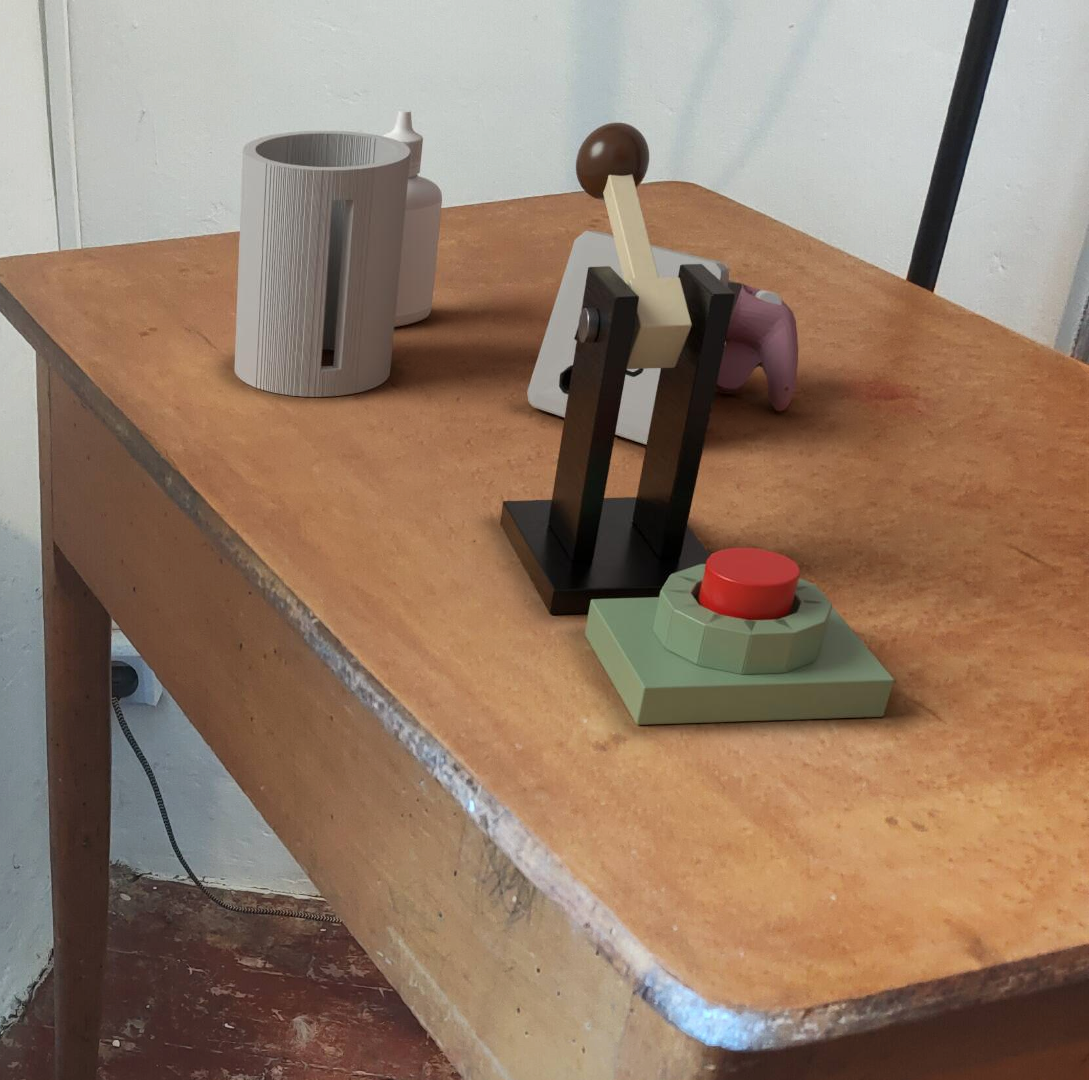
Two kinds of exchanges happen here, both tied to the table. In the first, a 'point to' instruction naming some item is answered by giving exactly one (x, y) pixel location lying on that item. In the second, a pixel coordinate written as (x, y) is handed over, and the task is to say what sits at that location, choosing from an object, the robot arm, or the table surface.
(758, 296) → the video game controller
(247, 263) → the cup
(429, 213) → the eye dropper bottle
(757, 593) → the button
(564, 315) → the electrical switch
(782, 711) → the button block
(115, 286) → the table surface
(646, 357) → the lever
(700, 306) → the bracket
